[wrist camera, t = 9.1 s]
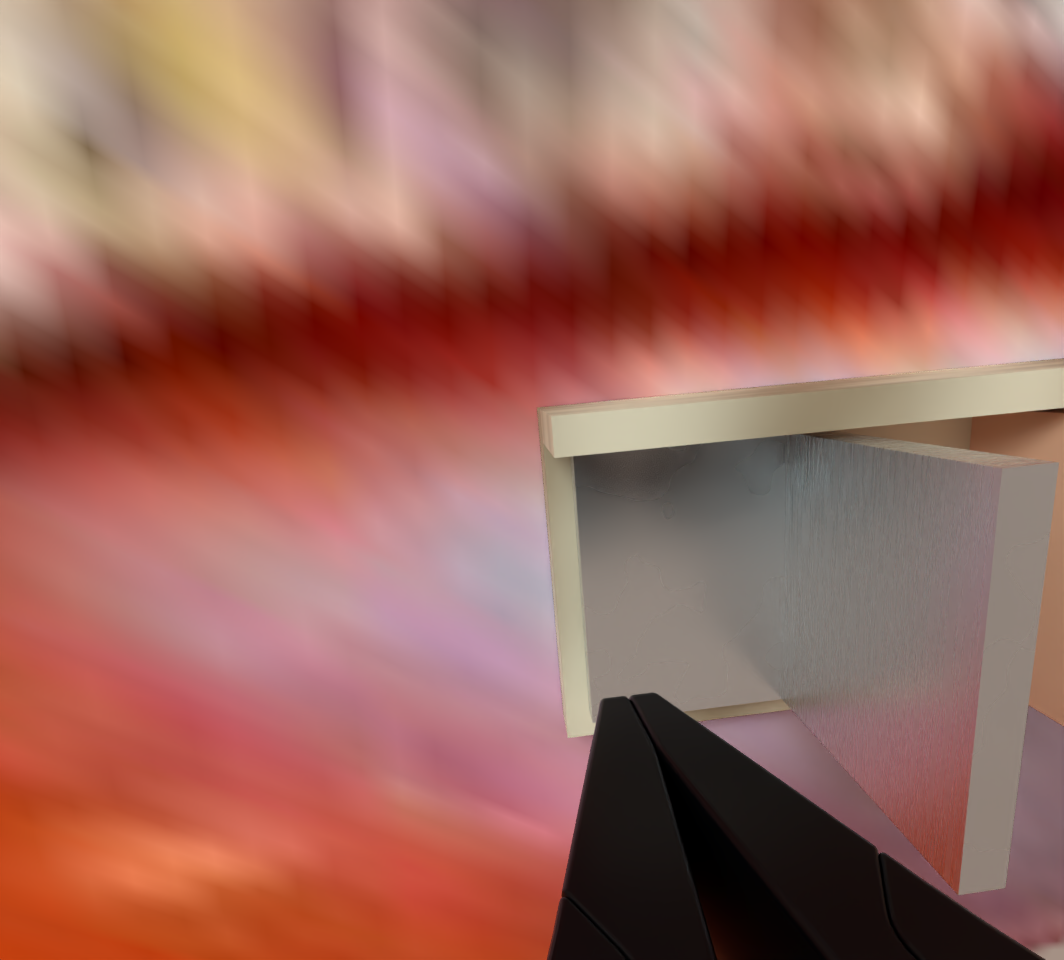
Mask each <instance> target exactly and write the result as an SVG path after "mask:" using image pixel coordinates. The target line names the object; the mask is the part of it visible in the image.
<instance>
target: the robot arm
mask: <svg viewBox="0 0 1064 960" xmlns="http://www.w3.org/2000/svg"><path fill="white" fill-rule="evenodd" d="M547 960H1045V959H1044V958H1042V957H1040V956H1039V955H1037V954H1036V953H1034V952H1032V951H1031V950H1029V949H1028V948H1026V947H1025V946H1023V945H1021V944H1020V943H1018V942H1017V941H1015V940H1014V939H1012V938H1010V937H1009V936H1007V935H1006V934H1004V933H1002V932H1001V931H999V930H998V929H996V928H995V927H993V926H991V925H990V924H988V923H987V922H985V921H984V920H982V919H981V918H979V917H978V916H976V915H975V914H973V913H972V912H970V911H969V910H967V909H966V908H964V907H963V906H961V905H960V904H959V903H957V902H956V901H954V900H953V899H951V898H950V897H948V896H947V895H945V894H944V893H942V892H941V891H939V890H938V889H936V888H935V887H933V886H932V885H930V884H929V883H927V882H926V881H924V880H923V879H922V878H920V877H919V876H917V875H916V874H914V873H913V872H912V871H910V870H909V869H907V868H906V867H904V866H903V865H902V864H900V863H899V862H897V861H896V860H894V859H893V858H892V857H890V856H889V855H887V854H886V853H880V854H879V853H878V850H877V848H876V847H875V846H874V845H873V844H871V843H870V842H868V841H867V840H865V839H864V838H863V837H861V836H860V835H858V834H857V833H855V832H854V831H853V830H851V829H850V828H848V827H847V826H845V825H844V824H843V823H841V822H840V821H838V820H837V819H835V818H834V817H833V816H831V815H830V814H828V813H827V812H826V811H824V810H823V809H821V808H820V807H818V806H817V805H816V804H814V803H813V802H811V801H810V800H808V799H807V798H806V797H804V796H803V795H801V794H800V793H798V792H797V791H796V790H794V789H793V788H791V787H790V786H788V785H787V784H786V783H784V782H783V781H781V780H780V779H778V778H777V777H776V776H774V775H773V774H771V773H770V772H768V771H767V770H766V769H764V768H763V767H761V766H760V765H758V764H757V763H756V762H754V761H753V760H751V759H750V758H748V757H747V756H746V755H744V754H743V753H741V752H740V751H739V750H737V749H736V748H734V747H733V746H731V745H730V744H729V743H727V742H726V741H724V740H723V739H721V738H720V737H719V736H717V735H716V734H714V733H713V732H711V731H710V730H709V729H707V728H706V727H704V726H703V725H701V724H700V723H699V722H697V721H696V720H694V719H693V718H691V717H690V716H689V715H687V714H686V713H684V712H683V711H681V710H680V709H679V708H677V707H676V706H674V705H673V704H671V703H670V702H669V701H667V700H666V699H664V698H663V697H661V696H660V695H659V694H657V693H654V692H651V693H643V694H635V695H631V696H630V697H629V699H628V697H626V696H618V697H610V698H604V699H602V700H601V701H600V705H599V710H598V715H597V720H596V725H595V730H594V735H593V740H592V745H591V750H590V755H589V760H588V765H587V770H586V775H585V779H584V784H583V789H582V794H581V799H580V804H579V809H578V814H577V819H576V824H575V829H574V834H573V839H572V844H571V849H570V854H569V859H568V864H567V869H566V874H565V879H564V884H563V889H562V898H561V899H560V902H559V906H558V911H557V916H556V921H555V926H554V931H553V936H552V940H551V944H550V948H549V953H548V957H547Z"/></svg>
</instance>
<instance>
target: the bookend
mask: <svg viewBox="0 0 1064 960" xmlns="http://www.w3.org/2000/svg"><path fill="white" fill-rule="evenodd" d="M570 459H571V473H572V486H573V500H574V513H575V526H576V540H577V553H578V567H579V580H580V594H581V607H582V621H583V634H584V648H585V661H586V674H587V688H588V701H589V711H590V715H591V719H592V722H593V723H596V720H597V715H598V710H599V705H600V701H601V700H602V699H604V698H610V697H618V696H626V697H628V699H629V697H630V696H631V695H635V694H643V693H651V692H654V693H657V694H659V695H660V696H661V697H663V698H664V699H666V700H667V701H669V702H670V703H671V704H673V705H674V706H676V707H677V708H679V709H680V710H681V711H683V712H684V711H692V710H700V709H708V708H716V707H724V706H732V705H740V704H748V703H756V702H764V701H772V700H780V699H782V700H783V701H784V702H785V703H786V704H787V705H788V706H789V708H790V709H791V710H792V711H793V712H794V713H795V714H796V715H797V716H798V718H799V719H800V720H801V721H802V722H803V723H804V724H805V725H806V727H807V728H808V729H809V730H810V731H811V732H812V733H813V734H814V735H815V737H816V738H817V739H818V740H819V741H820V742H821V743H822V744H823V745H824V747H825V748H826V749H827V750H828V751H829V752H830V753H831V754H832V755H833V757H834V758H835V759H836V760H837V761H838V762H839V763H840V764H841V765H842V767H843V768H844V769H845V770H846V771H847V772H848V773H849V774H850V775H851V777H852V778H853V779H854V780H855V781H856V782H857V783H858V784H859V785H860V787H861V788H862V789H863V790H864V791H865V792H866V793H867V794H868V795H869V797H870V798H871V799H872V800H873V801H874V802H875V803H876V804H877V805H878V807H879V808H880V809H881V810H882V811H883V812H884V813H885V814H886V815H887V817H888V818H889V819H890V820H891V821H892V822H893V823H894V824H895V825H896V827H897V828H898V829H899V830H900V831H901V832H902V833H903V834H904V835H905V837H906V838H907V839H908V840H909V841H910V842H911V843H912V844H913V845H914V847H915V848H916V849H917V850H918V851H919V852H920V853H921V854H922V855H923V857H924V858H925V859H926V860H927V861H928V862H929V863H930V864H931V865H932V867H933V868H934V869H935V870H936V871H937V872H938V873H939V874H940V875H941V877H942V878H943V879H944V880H945V881H946V882H947V883H948V884H949V885H950V887H951V888H952V889H953V890H954V891H955V892H956V893H957V894H958V895H963V894H970V893H976V892H983V891H990V890H997V889H1003V888H1005V887H1006V879H1007V871H1008V863H1009V855H1010V847H1011V839H1012V831H1013V824H1014V816H1015V808H1016V800H1017V792H1018V784H1019V776H1020V768H1021V760H1022V752H1023V744H1024V736H1025V728H1026V720H1027V713H1028V705H1029V697H1030V689H1031V681H1032V673H1033V665H1034V657H1035V649H1036V641H1037V633H1038V625H1039V617H1040V610H1041V602H1042V594H1043V586H1044V578H1045V570H1046V562H1047V554H1048V546H1049V538H1050V530H1051V522H1052V514H1053V506H1054V499H1055V491H1056V483H1057V475H1058V467H1059V462H1052V461H1045V460H1038V459H1030V458H1023V457H1016V456H1009V455H1002V454H995V453H988V452H980V451H973V450H966V449H959V448H952V447H945V446H937V445H930V444H923V443H916V442H909V441H902V440H895V439H887V438H880V437H873V436H866V435H859V434H852V433H845V432H837V431H824V432H814V433H803V434H793V435H783V436H773V437H763V438H753V439H743V440H733V441H722V442H712V443H702V444H692V445H682V446H672V447H662V448H652V449H641V450H631V451H621V452H611V453H601V454H591V455H581V456H571V457H570Z"/></svg>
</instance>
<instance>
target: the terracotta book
mask: <svg viewBox="0 0 1064 960" xmlns="http://www.w3.org/2000/svg"><path fill="white" fill-rule="evenodd" d="M969 450H973V451H980V452H988V453H995V454H1002V455H1009V456H1016V457H1023V458H1030V459H1038V460H1045V461H1052V462H1059V467H1058V475H1057V483H1056V491H1055V499H1054V506H1053V514H1052V522H1051V530H1050V538H1049V546H1048V554H1047V562H1046V570H1045V578H1044V586H1043V594H1042V602H1041V610H1040V617H1039V625H1038V633H1037V641H1036V649H1035V657H1034V665H1033V673H1032V681H1031V689H1030V697H1029V706H1031V707H1032V708H1034V709H1036V710H1037V711H1039V712H1041V713H1042V714H1044V715H1046V716H1047V717H1049V718H1050V719H1052V720H1054V721H1055V722H1057V723H1059V724H1060V725H1062V726H1064V408H1057V409H1046V410H1036V411H1026V412H1016V413H1006V414H996V415H986V416H976V417H972V427H971V438H970V449H969Z"/></svg>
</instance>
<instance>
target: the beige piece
mask: <svg viewBox="0 0 1064 960" xmlns="http://www.w3.org/2000/svg"><path fill="white" fill-rule="evenodd" d="M1057 408H1064V358H1063V359H1052V360H1041V361H1030V362H1020V363H1009V364H998V365H988V366H977V367H966V368H956V369H945V370H934V371H924V372H913V373H902V374H892V375H881V376H870V377H859V378H849V379H838V380H827V381H817V382H806V383H795V384H785V385H774V386H763V387H753V388H742V389H731V390H721V391H710V392H699V393H688V394H678V395H667V396H656V397H646V398H635V399H624V400H614V401H603V402H592V403H582V404H571V405H560V406H550V407H539V408H537V414H538V426H539V438H540V449H541V461H542V472H543V484H544V496H545V507H546V519H547V530H548V542H549V554H550V565H551V577H552V588H553V600H554V612H555V623H556V635H557V646H558V658H559V669H560V681H561V693H562V704H563V715H564V720H565V725H566V730H567V735H568V738H571V737H579V736H587V735H594V730H595V725H596V723H593V722H592V719H591V715H590V711H589V701H588V688H587V674H586V661H585V648H584V634H583V621H582V607H581V594H580V580H579V567H578V553H577V540H576V526H575V513H574V500H573V486H572V473H571V459H570V457H571V456H581V455H591V454H601V453H611V452H621V451H631V450H641V449H652V448H662V447H672V446H682V445H692V444H702V443H712V442H722V441H733V440H743V439H753V438H763V437H773V436H783V435H793V434H803V433H814V432H824V431H837V432H845V433H852V434H859V435H866V436H873V437H880V438H887V439H895V440H902V441H909V442H916V443H923V444H930V445H937V446H945V447H952V448H959V449H966V450H969V449H970V438H971V427H972V417H976V416H986V415H996V414H1006V413H1016V412H1026V411H1036V410H1046V409H1057ZM784 710H791V709H790V708H789V706H788V705H787V704H786V703H785V702H784V701H783V700H782V699H780V700H772V701H764V702H756V703H748V704H740V705H732V706H724V707H716V708H708V709H700V710H692V711H684V713H686V714H687V715H689V716H690V717H691V718H693V719H694V720H696V721H705V720H713V719H721V718H729V717H736V716H744V715H752V714H760V713H768V712H776V711H784Z"/></svg>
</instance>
